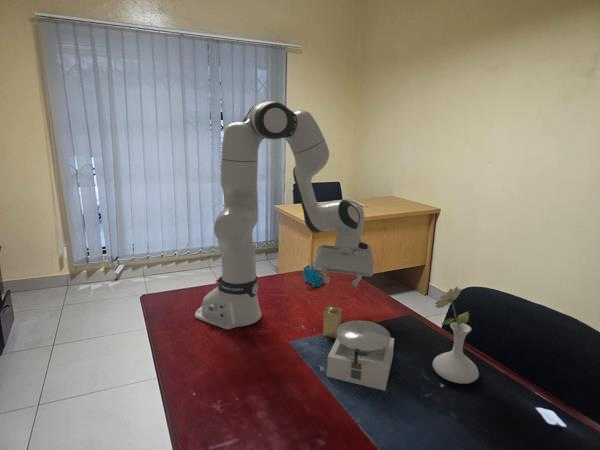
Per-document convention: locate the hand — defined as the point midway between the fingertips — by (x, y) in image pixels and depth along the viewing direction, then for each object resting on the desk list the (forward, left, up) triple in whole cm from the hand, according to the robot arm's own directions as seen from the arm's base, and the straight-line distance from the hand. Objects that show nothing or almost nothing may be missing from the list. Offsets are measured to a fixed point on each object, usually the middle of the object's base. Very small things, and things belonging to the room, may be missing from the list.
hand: (340, 284), depth 124 cm
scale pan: (+12, -24, -8) cm, 28 cm away
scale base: (+12, -23, -13) cm, 29 cm away
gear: (-17, +24, -13) cm, 32 cm away
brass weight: (0, -10, -13) cm, 16 cm away
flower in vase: (+35, -18, -13) cm, 42 cm away
